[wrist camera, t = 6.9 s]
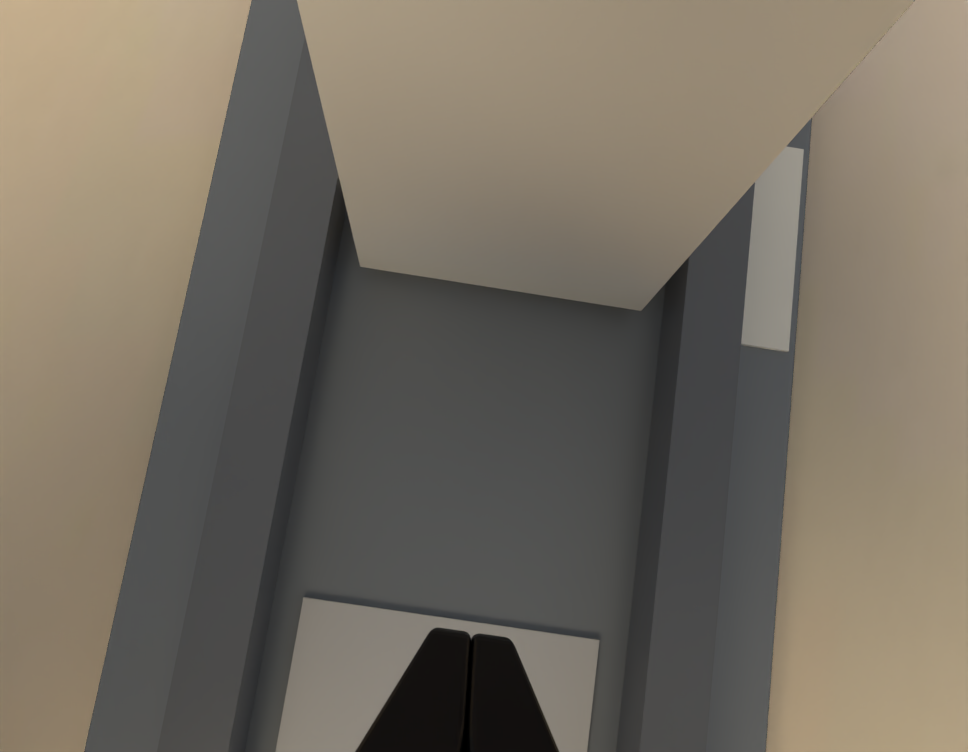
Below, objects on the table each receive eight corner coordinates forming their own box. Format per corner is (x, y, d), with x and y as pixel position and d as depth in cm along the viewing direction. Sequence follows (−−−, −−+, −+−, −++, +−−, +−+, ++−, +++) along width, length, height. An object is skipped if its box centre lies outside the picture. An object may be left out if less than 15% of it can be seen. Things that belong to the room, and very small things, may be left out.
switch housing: (702, 1275, 14) (761, 1428, 12) (8, 1190, 14) (-85, 1329, 11) (798, 43, 18) (855, -35, 16) (277, -45, 18) (254, -139, 16)
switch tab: (650, 326, 15) (1494, -532, 3) (346, 278, 15) (20, -821, 3) (667, 169, 16) (1432, -1054, 4) (375, 121, 16) (198, -1317, 4)
